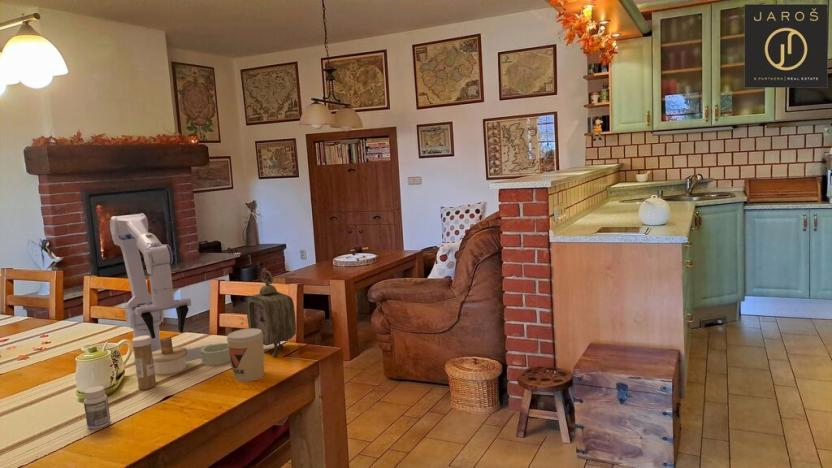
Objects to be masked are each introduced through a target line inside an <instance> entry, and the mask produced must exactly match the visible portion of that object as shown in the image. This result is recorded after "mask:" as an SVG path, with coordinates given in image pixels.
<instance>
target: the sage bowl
mask: <svg viewBox="0 0 832 468" xmlns="http://www.w3.org/2000/svg"><path fill="white" fill-rule="evenodd" d="M211 344H212V343H211ZM208 345H209V346H206V345H205V346H206V347H204V348H202V349H201V356H202V358H201V363H202V364H203V365H205V366H216V365H217V366H218V365H224V364H226V363H229V362H231V357H230V352H229V346H228V342H220V343H218V342H217V343H214V344H212V345H210V344H208Z"/></svg>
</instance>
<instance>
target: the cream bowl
mask: <svg viewBox="0 0 832 468" xmlns="http://www.w3.org/2000/svg"><path fill="white" fill-rule="evenodd" d="M186 367H187V361H186V356H184V357H181V358H179V359H176V360H172V361H167V362H154V370H155V375H169V374H173V373H176V372H177V373H178V372H179V371H182V370H184V369H185V368H186Z"/></svg>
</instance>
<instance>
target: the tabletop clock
mask: <svg viewBox="0 0 832 468" xmlns="http://www.w3.org/2000/svg"><path fill="white" fill-rule="evenodd" d="M264 273H267V274H268V275H269V277H270V280H269V279H267V278H266V279H264V278H263V274H264ZM260 278H261V281H262V283H264V284H265V285H262V287H261V288H260V290H259V293H256V294H252V295H248V296H246V301H245V302H246V303H245V304H246V316H247V317H246V318H247V325H248V329H252V328H254V329H260V330H261V331H262V332H263V346H271V345H273V349H274V351H273V352H272V354H271V355H272V357H275V358H276V357H278V355H279V353H278V351H277V349H279V350H282V349H283V348H284V344H281V342H284V341H288V340H291V339H293V338H294V336H295V335H297V334H296V333H297V321H296V312H295V311H296V310H295V305H294V300H293V298H292V297H291V296H290V295H287V294H285V293H282V292H280V291H277V288H276V287H275V286H274V285H272V283H273V281H274V279H273V278H274V277H273V274H272V273H271V271H269V270H267V269H264V270H262V271H261V273H260Z"/></svg>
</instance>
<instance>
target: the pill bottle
mask: <svg viewBox="0 0 832 468" xmlns="http://www.w3.org/2000/svg"><path fill="white" fill-rule="evenodd" d="M105 390H106V389H105V387H104V386H102V385H98V386H92V387H89V388H86V389H85V390H84V391H83V394H84V399H83V405H84V406H83V407H84V413H85V420H86V426H87V428H88V429H91V430H94V429H100V428H103V427H105V426H108V425H109V424H110V423H111V415H110V408H109V400H108V399H109V398H108V395H107V394H105V392H106V391H105Z"/></svg>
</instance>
